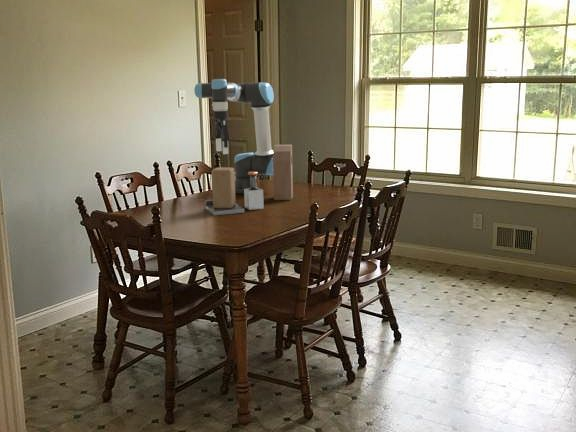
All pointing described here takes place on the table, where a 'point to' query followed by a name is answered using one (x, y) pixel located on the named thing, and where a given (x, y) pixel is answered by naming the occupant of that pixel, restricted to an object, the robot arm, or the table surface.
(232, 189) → the wooden block
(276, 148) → the decorative block
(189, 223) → the table surface
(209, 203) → the press bed
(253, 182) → the press pin
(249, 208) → the pin housing
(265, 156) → the robot arm
